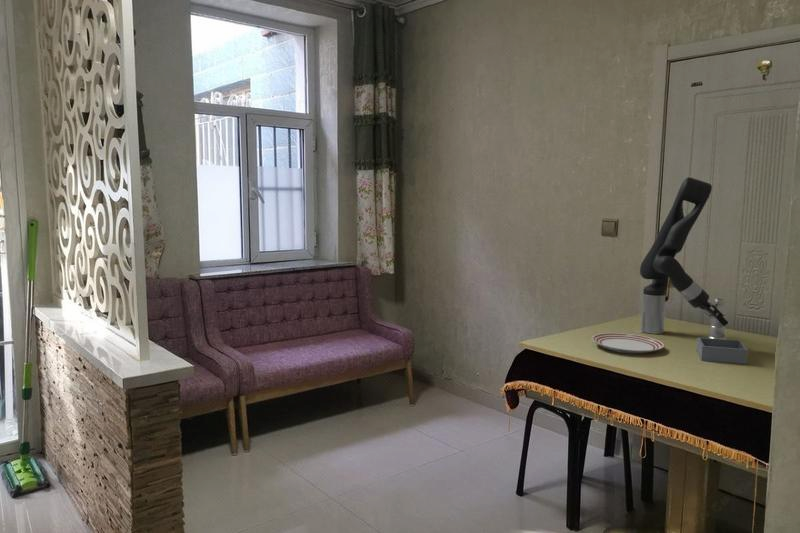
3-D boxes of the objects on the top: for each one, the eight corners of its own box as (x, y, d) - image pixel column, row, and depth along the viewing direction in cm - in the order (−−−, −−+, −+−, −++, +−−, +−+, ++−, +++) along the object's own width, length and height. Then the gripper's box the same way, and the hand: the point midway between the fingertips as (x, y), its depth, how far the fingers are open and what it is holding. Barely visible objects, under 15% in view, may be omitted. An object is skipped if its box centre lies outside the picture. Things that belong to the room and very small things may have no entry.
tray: (701, 360, 224) (702, 346, 224) (696, 350, 238) (697, 337, 238) (747, 364, 219) (748, 349, 219) (739, 354, 233) (740, 340, 233)
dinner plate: (673, 347, 245) (674, 339, 244) (648, 361, 224) (649, 352, 224) (608, 337, 263) (608, 329, 262) (579, 348, 243) (580, 340, 242)
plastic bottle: (723, 346, 245) (726, 298, 243) (726, 350, 239) (730, 301, 237) (706, 345, 247) (709, 297, 245) (708, 349, 241) (711, 300, 239)
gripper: (708, 289, 234) (737, 319, 234) (693, 284, 248) (721, 312, 248) (693, 303, 235) (722, 332, 235) (679, 297, 249) (706, 324, 249)
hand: (721, 322), depth 242 cm, fingers open, 8 cm apart
